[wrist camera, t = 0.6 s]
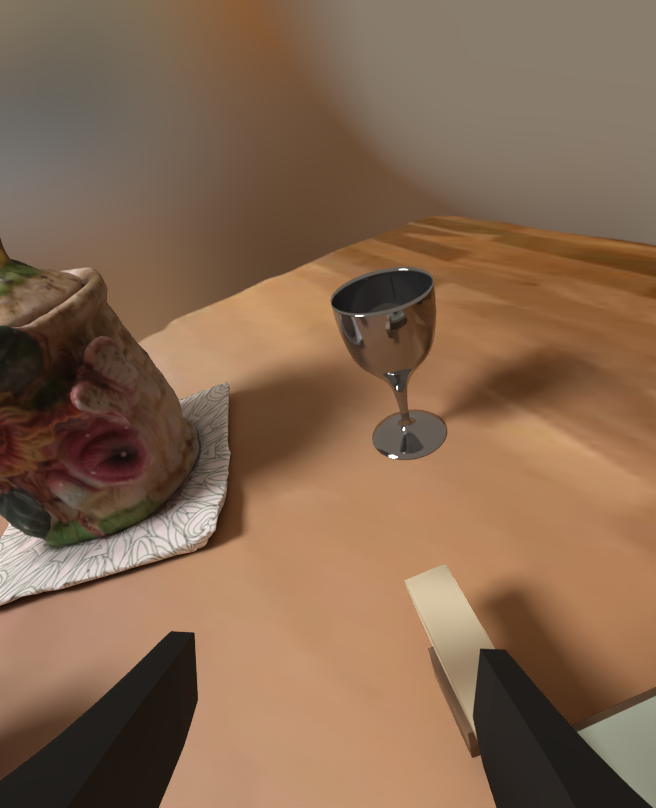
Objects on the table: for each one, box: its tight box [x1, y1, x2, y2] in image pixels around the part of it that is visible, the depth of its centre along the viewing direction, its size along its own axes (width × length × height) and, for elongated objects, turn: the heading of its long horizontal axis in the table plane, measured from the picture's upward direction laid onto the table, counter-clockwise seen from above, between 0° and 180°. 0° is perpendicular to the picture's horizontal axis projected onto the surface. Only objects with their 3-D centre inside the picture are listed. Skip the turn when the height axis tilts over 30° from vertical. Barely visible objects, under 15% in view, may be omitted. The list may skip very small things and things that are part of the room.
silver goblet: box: [331, 267, 447, 460], centre depth 38 cm, size 8×8×15 cm
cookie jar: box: [0, 239, 231, 606], centre depth 38 cm, size 25×25×32 cm
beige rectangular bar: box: [405, 564, 495, 741], centre depth 20 cm, size 12×2×2 cm, turn 15°
